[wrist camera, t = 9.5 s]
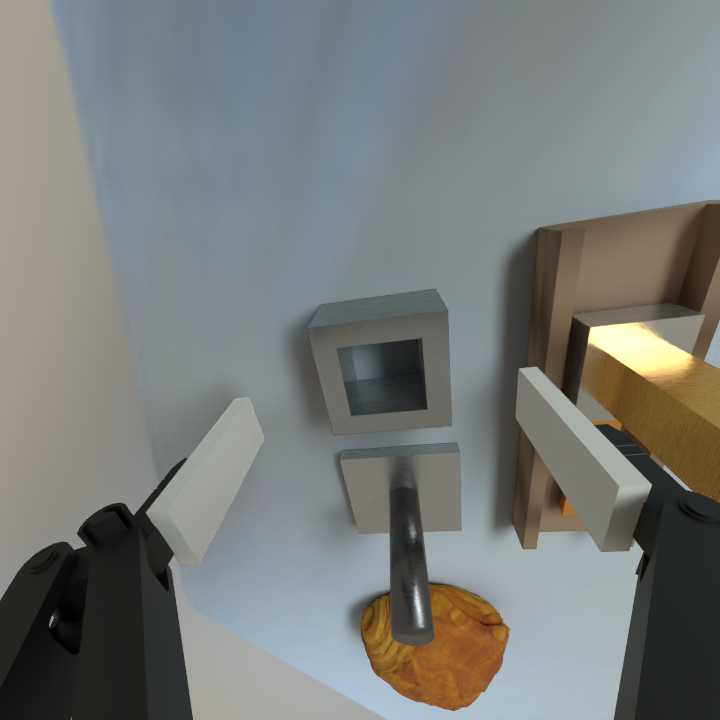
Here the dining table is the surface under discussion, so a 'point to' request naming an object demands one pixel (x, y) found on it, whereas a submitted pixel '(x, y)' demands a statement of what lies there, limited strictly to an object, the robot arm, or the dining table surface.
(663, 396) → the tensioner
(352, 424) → the square hollow frame
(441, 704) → the croissant
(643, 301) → the rail
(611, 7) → the dining table surface
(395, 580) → the square plate with peg
